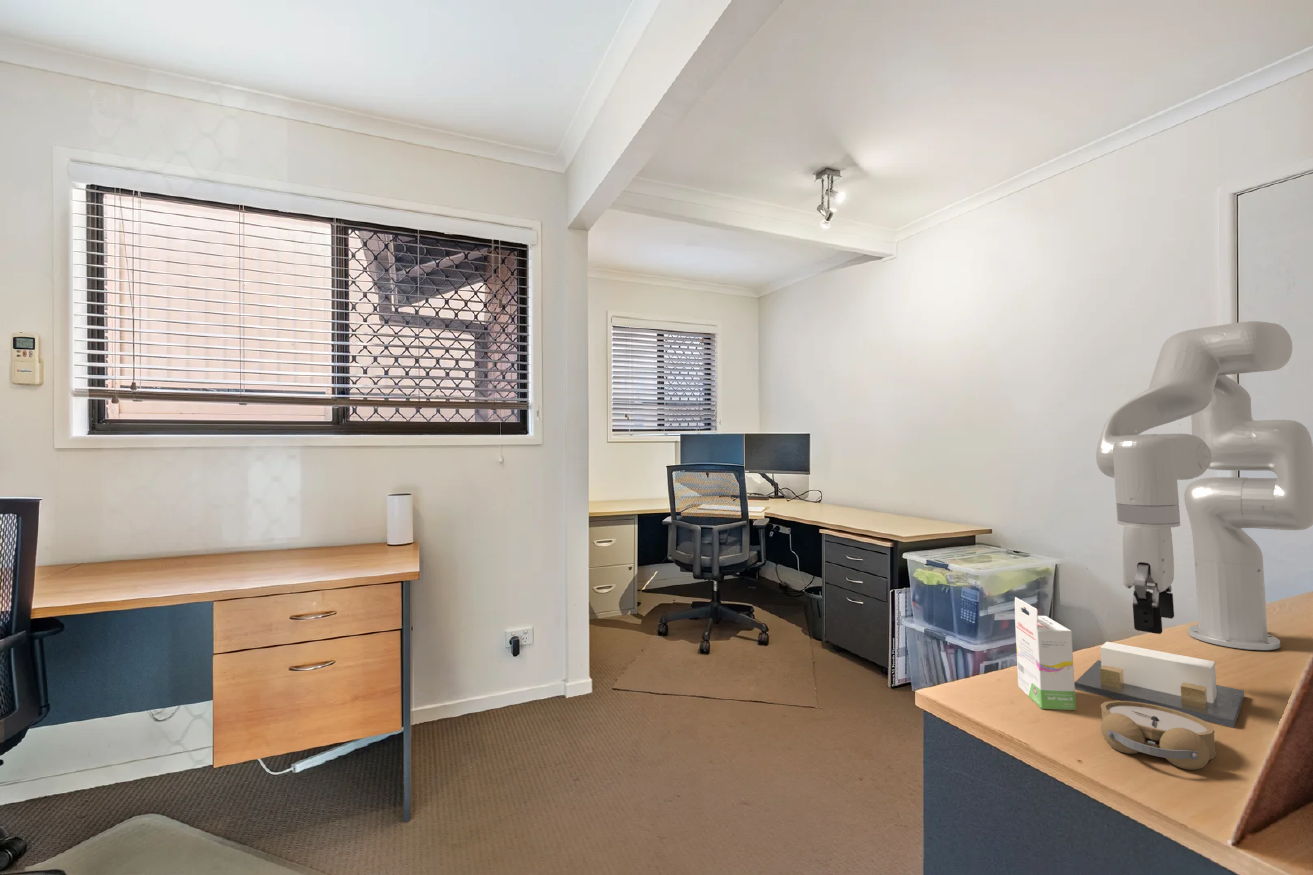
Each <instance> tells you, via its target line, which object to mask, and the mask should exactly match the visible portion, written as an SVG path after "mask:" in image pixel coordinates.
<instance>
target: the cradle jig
mask: <svg viewBox="0 0 1313 875" xmlns="http://www.w3.org/2000/svg"><path fill="white" fill-rule="evenodd" d="M1074 684H1075V690H1078V691H1082V692H1086V693H1090V694H1094V695H1099V696H1103V697H1106V698H1110V699H1114V700H1117V701H1132V702H1141V703H1146V704H1152V705H1157V706H1161V707H1165V708H1170V709H1174V710H1177V711H1180V712H1183V713H1186V714H1189V715H1192V716H1194V717H1197V718H1199V719H1201V720H1204V721H1205V722H1207V723H1212V724H1217V725H1221V726H1225V727H1229V728H1232V729H1235V726H1236V724H1237V721H1238V717H1239V715H1240V711H1241V708H1242V705H1243V703H1244V700H1245V696H1246V695H1245V690H1244V689H1243V690H1242V689H1238V688H1235V687H1234V688H1233V687H1229V686H1223V685H1220V684H1216V690H1217V696H1216V698H1215V701H1214V703H1209V702H1207V690H1206V687H1204V686H1199V685H1194V684H1190V683H1185V682H1183V683H1182V685H1181V696H1178V695H1173V694H1169V693H1165V692H1160V691H1156V690H1151V689H1147V688H1143V687H1138V686H1134V685H1129V684H1125V683H1124V677H1123V669H1119V668H1114V667H1110V666H1105V665H1103V666H1102V667H1101V659H1100V660H1098V659H1097V660H1096V661H1095V662H1094V663H1093V664H1092V665H1091V666H1090V667H1089V668H1088V669H1087V670H1086V671H1085V672H1083V673H1082V674H1081V675H1080V677H1078V678H1077V679H1076V681H1074Z"/></svg>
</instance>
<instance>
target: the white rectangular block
mask: <svg viewBox="0 0 1313 875" xmlns="http://www.w3.org/2000/svg"><path fill="white" fill-rule="evenodd" d="M1100 661H1101V667H1102V666H1103V665H1105V666H1110V667H1114V668H1119V669H1123V677H1124V683H1125V684H1129V685H1134V686H1138V687H1143V688H1147V689H1151V690H1156V691H1160V692H1165V693H1169V694H1173V695H1178V696H1181V685H1182V683H1183V682H1185V683H1190V684H1194V685H1199V686H1204V687H1206V690H1207V702H1209V703H1214V701H1215V698H1216V696H1217V690H1216V685H1217V678H1216V662H1215V660H1210V659H1209V660H1208V659H1203V658H1197V657H1192V656H1188V655H1187V656H1186V655H1183V654H1182V655H1181V654H1176V653H1171V652H1165V651H1161V650H1160V651H1159V650H1153V649H1149V648H1144V647H1138V646H1133V645H1128V644H1121V643H1116V642H1113V641H1111V642H1110V641H1105V642H1104V643H1103V644H1102V645H1101V646H1100Z"/></svg>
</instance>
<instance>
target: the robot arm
mask: <svg viewBox="0 0 1313 875" xmlns="http://www.w3.org/2000/svg"><path fill="white" fill-rule="evenodd" d="M1292 353H1293V340H1292V338H1291V335H1290V334H1289V332H1288V330H1286V329H1285V327H1283V326H1282V325H1281V324H1278V323H1275V322H1268V321H1267V322H1266V321H1258V320H1257V321H1255V320H1254V321H1253V320H1252V321H1240V322H1234V323H1227V324H1220V325H1212V326H1205V327H1199V328H1195V329H1194V328H1193V329H1188V330H1184V331H1180V332H1177V333H1174V334H1173V335H1172V336H1170V337H1169V338H1167V339H1166V340H1165V342H1164V343H1163V344H1162V346H1161V349H1160V352H1159V355H1158V358H1157V361H1156V363H1155V367H1154V371H1153V373H1152V377H1151V380H1150V384H1149V387H1148V388H1147V389H1146V390H1144V391H1142V392H1140V393H1138V394H1137V395H1136V396H1134V397H1133V398H1131V399H1129V400H1128V401H1127V402H1125V403H1124V404H1122V405H1121V406H1120V407H1118V408H1117V409H1116V410H1115V411H1114V412H1113V413H1111V415H1110V416H1108V418H1107V420H1106V422H1105V424H1104V425H1103V429H1102V432H1101V434H1100V437H1099V440H1098V443H1097V447H1096V454H1095V456H1096V457H1095V458H1096V459H1095V460H1096V464H1097V467H1098V469H1099V471H1100V472H1101V473H1102V474H1103V475H1104V476H1107V477H1109V478H1113V479H1114V488H1115V503H1116V516H1117V517H1116V520H1117V524H1118V525H1121V526H1123V533H1122V576H1123V578H1122V579H1123V580H1122V581H1123V582H1122V583H1123V584H1122V585H1123V586H1124V587H1125V588H1126V589H1131V588H1132V587H1133V597H1132V612H1133V614H1132V616H1133V627H1134V628H1133V629H1134V630H1136V631H1138V632H1145V633H1150V634H1156V635H1161V634H1162V633H1163V621H1162V618H1164V619H1174V617H1175V609H1174V608H1175V607H1174V594H1173V592H1172V584H1173V582H1174V579H1175V578H1174V577H1175V563H1174V562H1175V561H1174V557H1175V556H1174V546H1173V545H1174V544H1173V533H1172V528H1175V527H1176V528H1177V527H1180V526H1181V517H1180V516H1181V514H1180V503H1179V502H1180V501H1179V500H1180V499H1179V487H1178V486H1179V484H1178V481H1183V480H1184V481H1187V480H1193V479H1196V478H1198V477H1200V476H1202V475H1203V474H1204V473H1206V471H1207V470H1214V471H1249V472H1250V471H1254V472H1255V471H1258V472H1259V471H1265V472H1266V471H1269V472H1273V473H1275V475H1276V476H1277V477H1276V478H1275V477H1273V478H1271V477H1270V478H1269V477H1259V478H1258V477H1237V476H1236V477H1234V476H1233V477H1231V476H1230V477H1229V476H1228V477H1227V476H1224V477H1222V476H1219V477H1218V476H1217V477H1214V476H1213V477H1204V478H1199V479H1196V480H1193V481H1192V482H1191V483H1189V484H1188V485H1187V486H1186V488H1185V489H1184V494H1183V496H1184V497H1183V500H1184V505H1185V510H1186V512H1187V516H1188V519H1189V523H1190V529H1191V536H1192V542H1193V544H1192V545H1193V558H1194V571H1195V572H1194V573H1195V576H1194V577H1195V591H1196V592H1195V593H1196V604H1197V606H1196V607H1197V623H1198V624H1193V625H1190V626H1189V627H1187V628H1188V629H1187V630H1188V634H1189V636H1190V637H1192V638H1193V639H1197V640H1199V641H1202V642H1205V643H1208V644H1209V643H1210V644H1213V645H1217V646H1222V647H1227V648H1234V649H1240V650H1241V649H1242V650H1250V651H1272V650H1277V649H1280V648H1281V640H1280V639H1279V638H1277V637H1276V636H1273V635H1272V634H1268V621H1267V620H1268V619H1267V606H1266V605H1267V602H1266V591H1265V588H1266V587H1265V573H1264V571H1265V570H1264V556H1263V552H1262V550H1261V548H1260V546H1259V544H1258V543H1257V542H1256V541H1255V540H1254V539H1253V538H1252V537H1251V536H1250V535H1249V534H1248V533H1247V532H1245V530H1243V529H1261V530H1262V529H1263V530H1275V531H1276V530H1279V531H1281V530H1282V531H1302V530H1303V531H1304V530H1306V529H1307V530H1308V529H1310V528H1311V527H1312V526H1313V441H1312V436H1311V434H1310V431H1309V430H1308V428H1307V427H1306V426H1305V425H1304V424H1303V423H1301V422H1299V421H1296V420H1291V419H1268V420H1267V419H1266V420H1265V419H1263V420H1255V419H1253V417H1252V416H1253V415H1252V398H1251V395H1250V393H1249V392H1248V391H1247V389H1245V388H1244V387H1243V386H1242V385H1241V384H1240V383H1238V382H1237V381H1235V380H1234V379H1232V378H1231V377H1229V376H1231V375H1239V374H1249V373H1261V372H1269V371H1270V372H1272V371H1276V370H1277V371H1278V370H1280V369H1282V368H1283V367H1285V366H1286V365H1287V364H1288V362H1289V361H1290V360H1291V357H1292V355H1293V354H1292ZM1189 416H1190V417H1191V434H1189V433H1160V434H1159V433H1158V434H1157V433H1151V434H1150V433H1148V434H1147V433H1145V434H1143V433H1144V432H1145V431H1148V430H1151V429H1154V428H1157V427H1159V426H1163V425H1166V424H1169V423H1172V422H1176V421H1178V420H1182V419H1184V418H1188V417H1189Z"/></svg>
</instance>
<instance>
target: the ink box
mask: <svg viewBox="0 0 1313 875" xmlns="http://www.w3.org/2000/svg"><path fill="white" fill-rule="evenodd" d="M1023 610H1026V611H1027V612H1028V614H1027V613H1025V612H1024V611H1023ZM1038 613H1039V611H1038V609H1037V608H1036V607H1034V606H1032V605H1031V604H1029V603H1028V602H1026V601H1024V600H1022V599H1020V598H1018V597H1016V596H1015V597H1014V623H1015V626H1014V628H1015V643H1016V644H1015V646H1016V647H1015V648H1016V664H1017V668H1016V670H1017V686H1018V688H1019V689H1021V691H1022V692H1024V693H1025V694H1026V696H1028V697H1029V698H1030V699H1031V700H1032V702H1034V703H1035V704H1036V705H1037V706H1038V707H1039V708H1040V709H1045V710H1062V711H1063V710H1064V711H1070V710H1071V711H1076V710H1077V704H1076V689H1075V674H1074V673H1075V672H1074V671H1075V670H1074V658H1073V657H1074V656H1073V631H1072V630H1070V629H1069V628H1067V627H1066V626H1064V625H1062V624H1060V623H1059V622H1057V621H1056V620H1053V619H1052V618H1050V617H1048V616H1047V615H1039V614H1038Z"/></svg>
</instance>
